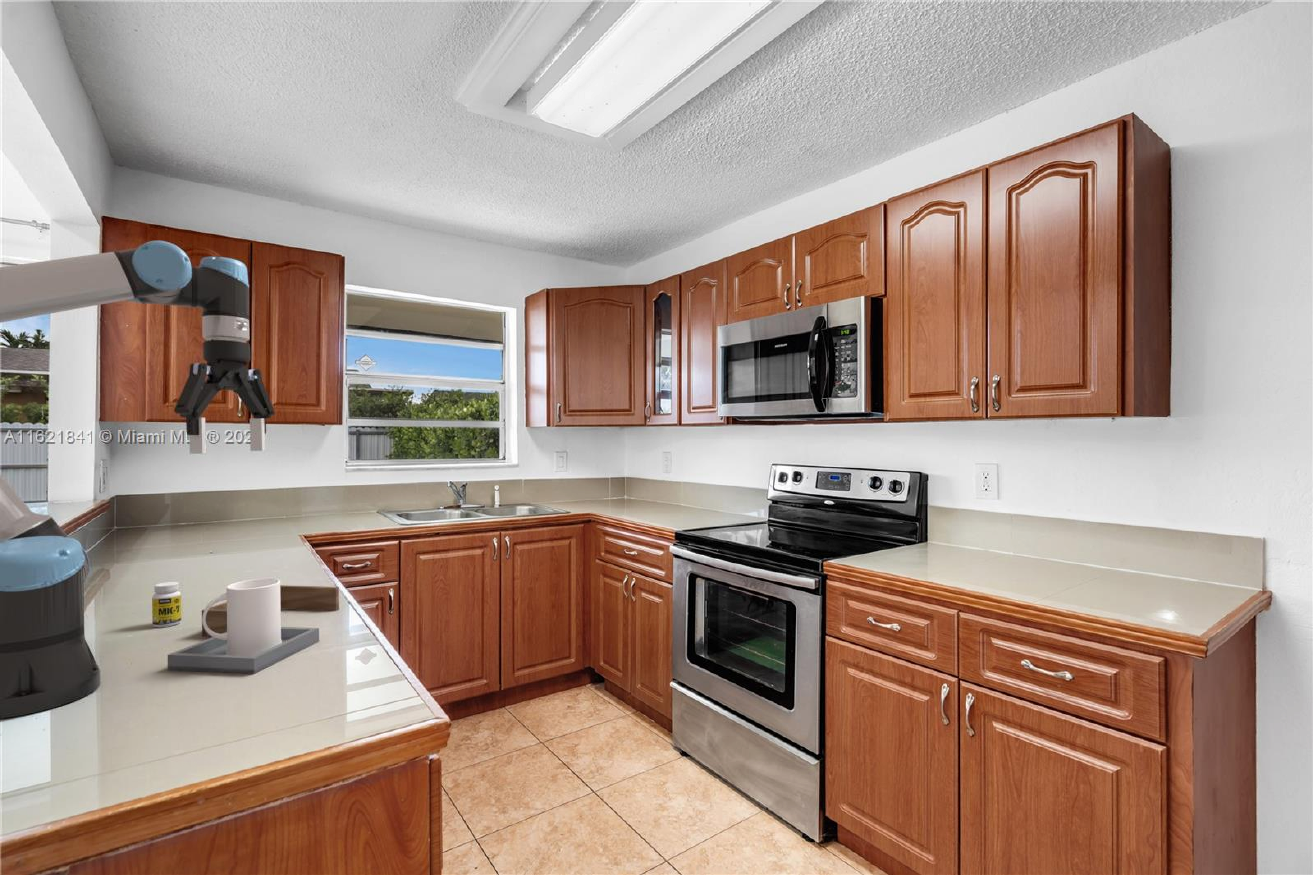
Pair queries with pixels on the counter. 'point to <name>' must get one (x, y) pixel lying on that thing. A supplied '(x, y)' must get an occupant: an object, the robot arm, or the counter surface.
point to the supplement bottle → (166, 605)
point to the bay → (288, 599)
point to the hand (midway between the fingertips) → (229, 452)
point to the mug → (250, 617)
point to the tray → (214, 656)
